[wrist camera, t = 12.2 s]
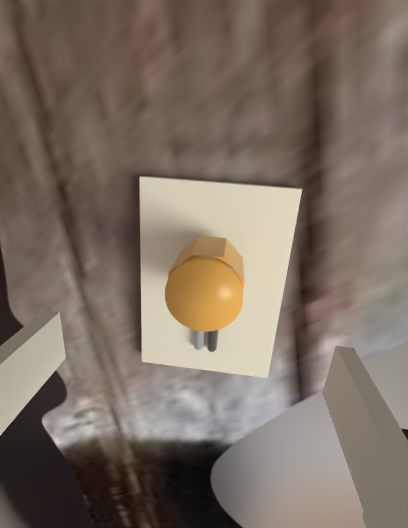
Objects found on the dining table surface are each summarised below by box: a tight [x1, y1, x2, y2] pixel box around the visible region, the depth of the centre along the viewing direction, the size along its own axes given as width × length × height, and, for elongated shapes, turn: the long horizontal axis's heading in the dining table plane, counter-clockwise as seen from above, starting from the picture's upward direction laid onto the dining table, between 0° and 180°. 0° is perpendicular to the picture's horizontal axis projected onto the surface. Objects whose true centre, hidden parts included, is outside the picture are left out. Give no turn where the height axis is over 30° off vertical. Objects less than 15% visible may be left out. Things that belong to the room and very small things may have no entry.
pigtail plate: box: [140, 176, 302, 378], centre depth 26 cm, size 20×14×8 cm
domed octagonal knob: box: [165, 236, 244, 332], centre depth 22 cm, size 5×5×6 cm
